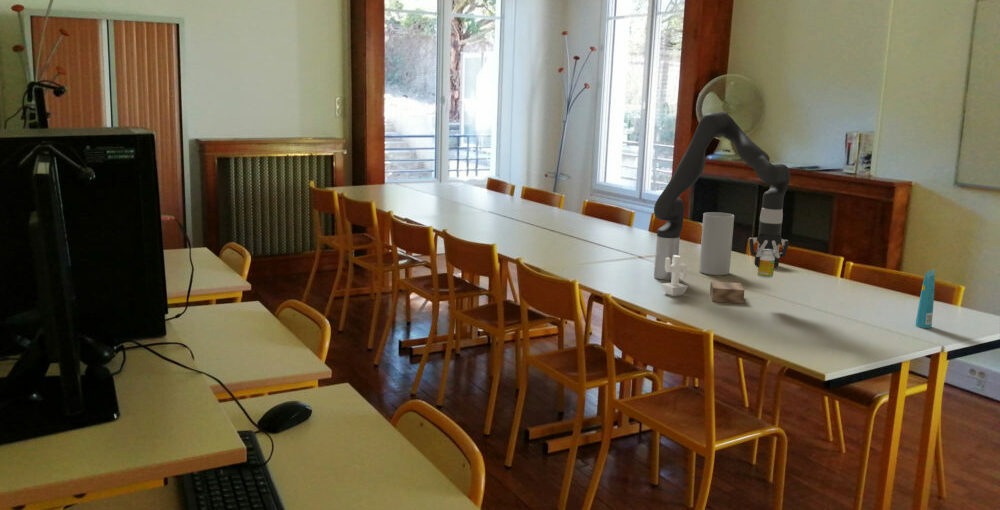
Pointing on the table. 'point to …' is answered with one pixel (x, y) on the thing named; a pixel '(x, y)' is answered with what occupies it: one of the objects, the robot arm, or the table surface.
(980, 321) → the table surface
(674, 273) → the figurine
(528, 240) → the table surface
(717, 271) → the cylinder vase
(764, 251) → the supplement bottle
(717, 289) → the walnut block
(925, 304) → the tube
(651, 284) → the table surface
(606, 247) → the table surface
